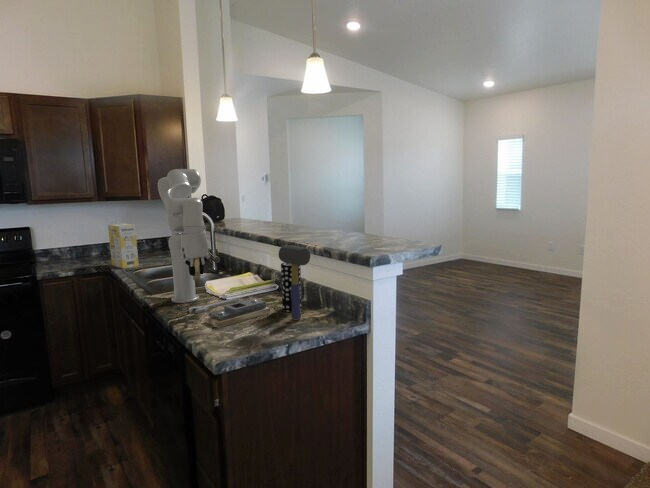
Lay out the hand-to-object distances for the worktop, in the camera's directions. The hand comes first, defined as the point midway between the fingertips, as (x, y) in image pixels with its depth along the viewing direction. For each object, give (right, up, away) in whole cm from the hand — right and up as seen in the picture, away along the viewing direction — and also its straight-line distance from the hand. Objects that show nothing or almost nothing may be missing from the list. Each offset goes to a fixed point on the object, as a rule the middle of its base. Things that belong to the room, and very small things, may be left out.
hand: (196, 274), depth 173 cm
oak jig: (+17, -18, +2) cm, 25 cm away
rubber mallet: (+41, -18, -3) cm, 45 cm away
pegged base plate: (+17, -16, +1) cm, 23 cm away
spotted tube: (+38, -16, +11) cm, 43 cm away
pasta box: (-84, -3, +118) cm, 145 cm away
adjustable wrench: (+3, -16, +18) cm, 24 cm away
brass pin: (0, -2, 0) cm, 2 cm away
